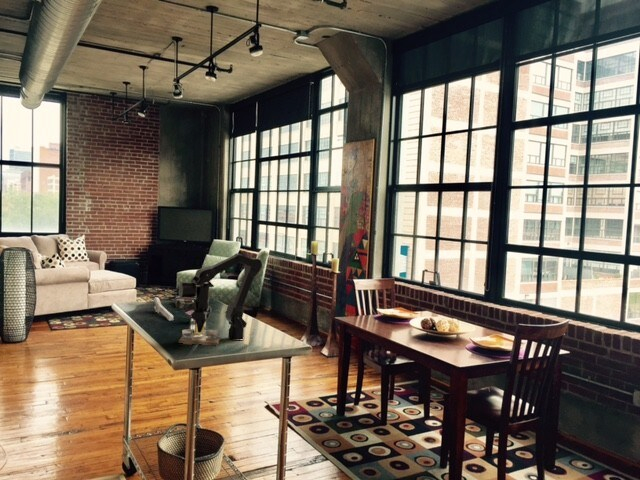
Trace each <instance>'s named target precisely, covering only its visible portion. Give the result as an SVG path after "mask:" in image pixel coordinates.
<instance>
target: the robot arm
mask: <svg viewBox="0 0 640 480" xmlns="http://www.w3.org/2000/svg"><path fill="white" fill-rule="evenodd" d="M238 264H241V265H242V266H243V265H244V271H243V273H244V275H243V277H242V281H241V282H240V286H239V288H238V291H237V294H236V295H235V299H234V301H233V303H232V304H231V305H229V304H228V305H227V308H226V310H225V312H224V314H225V316H224V317H225V320H226V321H228V324H229V325H230V326H229V328H228V340H229V339H243V337H244V338H245V336H244V334H245V333H244V332H245V328H246V327H247V321H245V319H244V318H243V317H244V305H245V302H246V300H247V297H248V294H249V292H250V289H251V287H252V284H253V282H254V278H255V277H257V275H258V274H259V273H260V271H261V269H262V268H263V263H262V260H261V259H259V258H256V257H248V256H245V255H243V254H241V253H235V254H233V255H231V256H230V257H227V258H226V259H223V260H222V261H220V262H218V263H215V264H213V265H210V266H205V267H202V268H198V269H197V270H196V272H195V274H194V276H193V278H191V280H190V282H189V281H187V282H185V281H181V282H180V284H179V288H178V296H180V298H183V297H194V296H196V299H195V300H194V302H191V303H186V304H184V305H183V306H182V307H183V308H181V309H182V310H183V313H185V314H186V312H188V311H191V310H193V311H194V312H193V313H192V314H191V315H190V320H191V319H192V320H193V319H194V320H195V321H194V322H195V325H196V324H197V328H198V332H201V331H202V328H203V326H204V323H205V321H206V323H207V321H208V320H209V317H210V315H211V313H212V307H211V305H209V301H210V288H214V287H215V285H214V284H213V283H212V282H211V281H212V280H213V279H214V278H215V277H216V276H217V275H219V274H220V273H223V272H224V271H226V270H228V269H230V268H232V267H234V266H237V265H238ZM208 312H209V313H208ZM243 340H244V339H243Z"/></svg>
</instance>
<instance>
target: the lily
mask: <svg viewBox="0 0 640 480" xmlns="http://www.w3.org/2000/svg"><path fill="white" fill-rule="evenodd" d="M193 312H194V311H193V310H191V311H187V312H186V313H185V314H187V315H189V316H191V314H192V313H193ZM192 321H193V322H196V321H195V320H194V319H191V318H190V322H189V325H191V324H192Z"/></svg>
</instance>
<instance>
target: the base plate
mask: <svg viewBox="0 0 640 480" xmlns="http://www.w3.org/2000/svg"><path fill="white" fill-rule="evenodd" d="M221 338H222V337H221V336H219V330H216V329H215V330H213V329H206V335H198V334H194V335H190V339H188V340H186V339H184V335H182V336H181V337H180V338H179V339H178V341H177V342H178V343H183V344H182V345H192V344H202V345H201V346H211V345H217V344H219V343H220V342H219V341H221ZM218 342H219V343H218ZM178 343H177V344H178ZM217 346H218V345H217Z"/></svg>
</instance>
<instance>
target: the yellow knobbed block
mask: <svg viewBox="0 0 640 480" xmlns="http://www.w3.org/2000/svg"><path fill="white" fill-rule="evenodd" d="M206 324H207V322H206V321H205V323H204V326H203V328H202V331H201V332H198V328H197V324H196V323H195V329H194V331H195V333H194V335H198V336H205V335H204V334H205V333H206V330H207V329H206V327H207V326H206Z"/></svg>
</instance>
